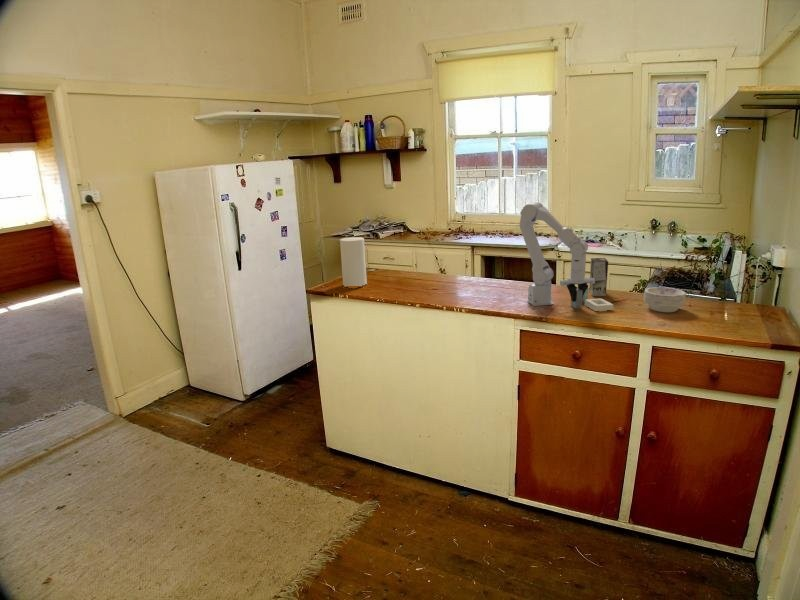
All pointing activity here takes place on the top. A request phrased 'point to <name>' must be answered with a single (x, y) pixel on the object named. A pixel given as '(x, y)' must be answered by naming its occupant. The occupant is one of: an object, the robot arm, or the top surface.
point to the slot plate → (598, 304)
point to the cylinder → (353, 261)
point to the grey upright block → (585, 295)
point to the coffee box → (598, 276)
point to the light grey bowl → (664, 299)
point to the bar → (577, 299)
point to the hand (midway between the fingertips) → (576, 300)
